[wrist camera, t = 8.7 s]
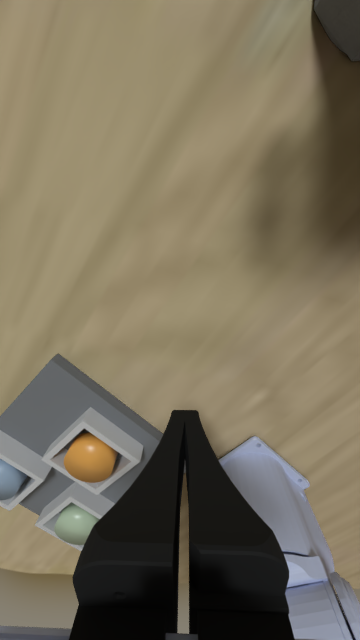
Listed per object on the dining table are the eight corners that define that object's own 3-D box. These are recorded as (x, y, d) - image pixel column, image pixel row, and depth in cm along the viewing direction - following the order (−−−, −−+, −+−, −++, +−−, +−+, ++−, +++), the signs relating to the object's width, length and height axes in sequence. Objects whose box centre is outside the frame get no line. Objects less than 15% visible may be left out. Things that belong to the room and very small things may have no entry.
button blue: (36, 469, 25) (25, 485, 24) (13, 489, 27) (2, 506, 25) (-3, 445, 24) (-16, 460, 23) (-25, 467, 26) (-39, 483, 24)
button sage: (110, 515, 28) (105, 532, 26) (86, 532, 29) (80, 550, 27) (77, 494, 26) (70, 511, 25) (54, 513, 28) (45, 531, 26)
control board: (193, 457, 26) (193, 483, 24) (89, 531, 32) (80, 560, 29) (57, 353, 23) (39, 370, 20) (-36, 457, 28) (-61, 482, 25)
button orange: (126, 450, 24) (122, 466, 22) (98, 473, 25) (92, 489, 24) (90, 424, 23) (83, 438, 21) (62, 449, 24) (54, 464, 23)
